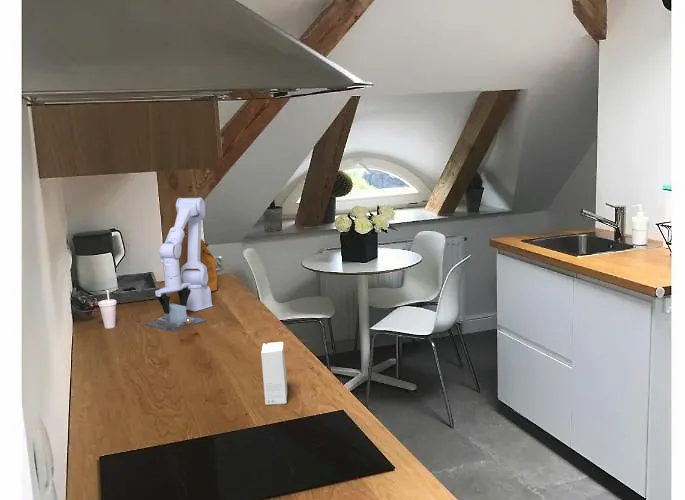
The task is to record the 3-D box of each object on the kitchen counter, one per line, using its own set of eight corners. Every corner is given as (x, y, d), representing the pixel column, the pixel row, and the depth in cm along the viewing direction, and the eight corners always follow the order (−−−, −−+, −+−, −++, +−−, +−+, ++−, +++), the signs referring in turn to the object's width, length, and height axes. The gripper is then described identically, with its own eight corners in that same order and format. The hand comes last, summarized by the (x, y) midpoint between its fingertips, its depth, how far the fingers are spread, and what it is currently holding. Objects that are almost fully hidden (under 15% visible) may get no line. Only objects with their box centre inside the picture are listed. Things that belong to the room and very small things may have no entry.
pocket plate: (179, 314, 270) (179, 307, 269) (206, 320, 260) (206, 313, 259) (145, 324, 257) (144, 317, 257) (172, 332, 247) (171, 324, 247)
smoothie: (115, 329, 253) (111, 292, 250) (98, 329, 253) (94, 292, 250) (121, 324, 259) (117, 287, 256) (104, 324, 259) (100, 288, 257)
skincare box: (286, 404, 183) (283, 350, 180) (263, 405, 183) (260, 352, 180) (287, 391, 191) (284, 340, 188) (265, 393, 191) (262, 341, 188)
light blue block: (187, 322, 257) (185, 306, 256) (178, 324, 254) (177, 309, 253) (173, 318, 262) (172, 303, 261) (164, 321, 259) (163, 305, 258)
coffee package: (215, 285, 312) (211, 237, 308) (219, 292, 300) (216, 242, 296) (192, 288, 309) (189, 239, 305) (196, 294, 297) (192, 244, 293)
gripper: (181, 270, 263) (184, 304, 266) (149, 278, 252) (152, 314, 255) (193, 272, 258) (195, 307, 261) (160, 280, 247) (164, 317, 250)
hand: (175, 310), depth 258 cm, fingers open, 7 cm apart
